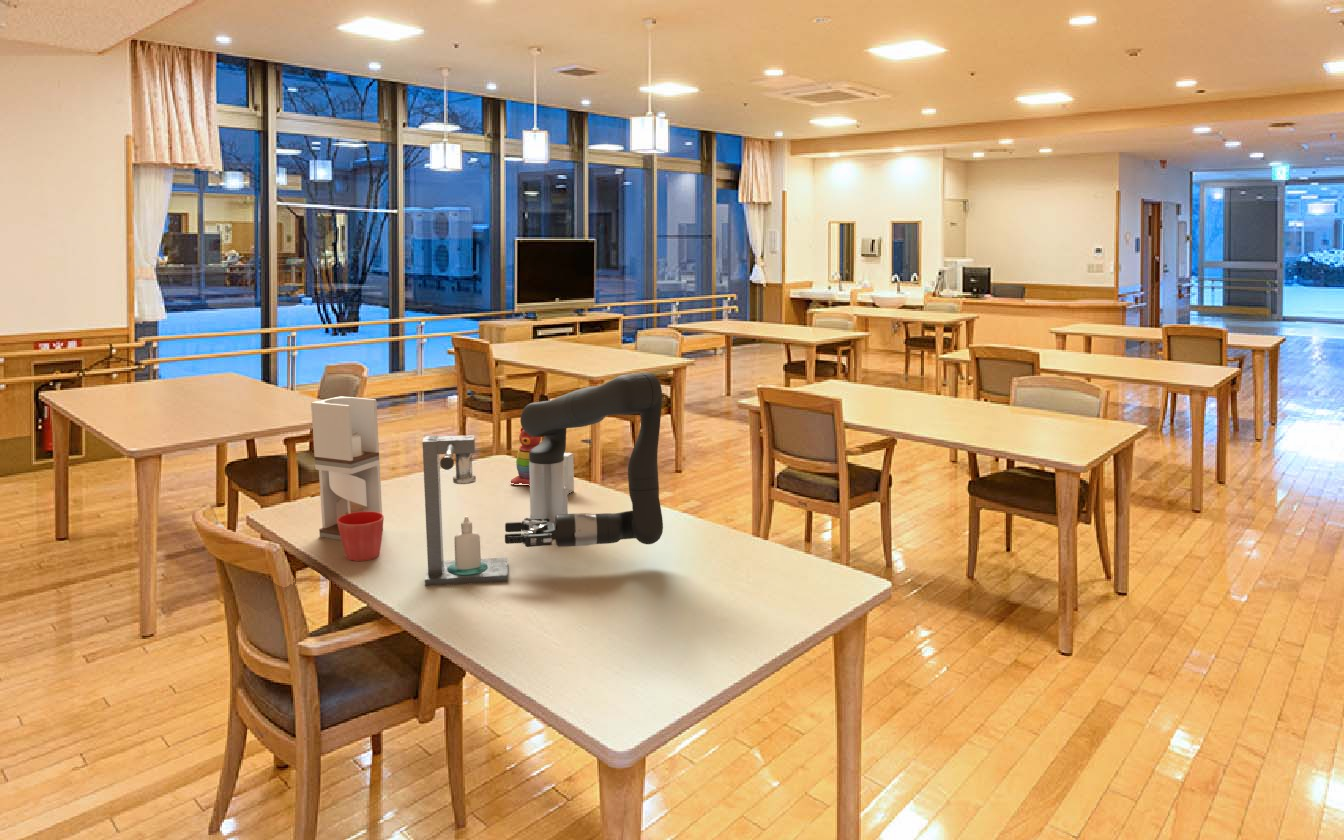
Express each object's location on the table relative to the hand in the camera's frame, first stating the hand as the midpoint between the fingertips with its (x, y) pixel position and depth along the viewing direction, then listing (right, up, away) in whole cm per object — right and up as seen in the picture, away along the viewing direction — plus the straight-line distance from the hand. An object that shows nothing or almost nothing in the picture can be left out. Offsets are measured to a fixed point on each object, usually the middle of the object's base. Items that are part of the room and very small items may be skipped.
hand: (505, 532), depth 216 cm
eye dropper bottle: (-8, -8, 0) cm, 12 cm away
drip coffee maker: (-45, -4, +29) cm, 54 cm away
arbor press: (-8, -11, -6) cm, 14 cm away
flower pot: (-37, -7, +12) cm, 39 cm away
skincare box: (+5, +4, +71) cm, 71 cm away
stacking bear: (-6, +6, +81) cm, 81 cm away
